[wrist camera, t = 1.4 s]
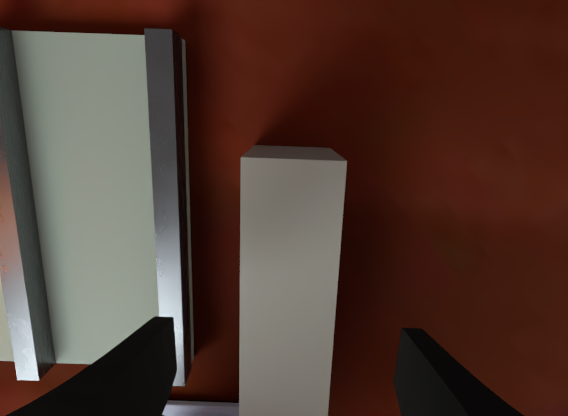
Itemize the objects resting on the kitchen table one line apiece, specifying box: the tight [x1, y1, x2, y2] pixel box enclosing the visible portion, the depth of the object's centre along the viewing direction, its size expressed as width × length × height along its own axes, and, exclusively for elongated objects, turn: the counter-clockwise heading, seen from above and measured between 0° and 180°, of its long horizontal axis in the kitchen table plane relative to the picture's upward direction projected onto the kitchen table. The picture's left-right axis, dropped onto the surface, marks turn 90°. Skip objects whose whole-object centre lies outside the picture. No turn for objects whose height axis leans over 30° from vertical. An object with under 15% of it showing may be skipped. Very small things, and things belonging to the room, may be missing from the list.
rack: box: [0, 27, 194, 386], centre depth 19 cm, size 18×17×2 cm
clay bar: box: [239, 145, 347, 416], centre depth 18 cm, size 12×4×6 cm, turn 178°
